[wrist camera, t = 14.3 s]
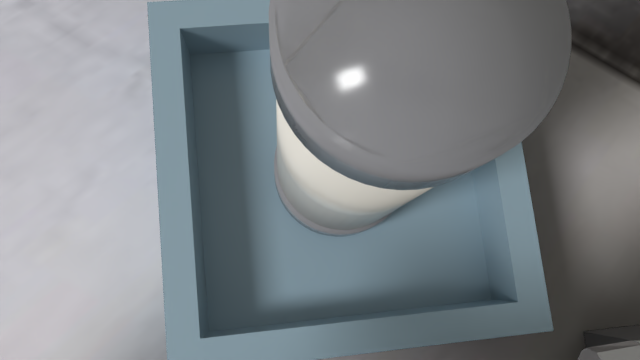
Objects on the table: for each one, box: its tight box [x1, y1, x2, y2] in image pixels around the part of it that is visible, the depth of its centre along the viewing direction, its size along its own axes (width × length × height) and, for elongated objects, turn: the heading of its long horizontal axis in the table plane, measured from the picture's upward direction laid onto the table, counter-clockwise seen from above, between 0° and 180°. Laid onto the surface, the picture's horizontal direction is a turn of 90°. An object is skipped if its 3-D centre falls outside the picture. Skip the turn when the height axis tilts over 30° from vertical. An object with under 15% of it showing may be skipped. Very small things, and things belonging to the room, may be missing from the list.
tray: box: [147, 0, 554, 360], centre depth 19 cm, size 12×12×3 cm
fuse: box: [269, 0, 571, 237], centre depth 14 cm, size 5×5×12 cm
